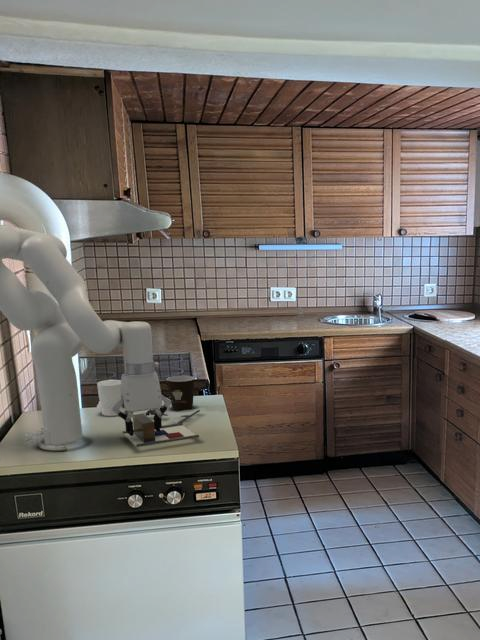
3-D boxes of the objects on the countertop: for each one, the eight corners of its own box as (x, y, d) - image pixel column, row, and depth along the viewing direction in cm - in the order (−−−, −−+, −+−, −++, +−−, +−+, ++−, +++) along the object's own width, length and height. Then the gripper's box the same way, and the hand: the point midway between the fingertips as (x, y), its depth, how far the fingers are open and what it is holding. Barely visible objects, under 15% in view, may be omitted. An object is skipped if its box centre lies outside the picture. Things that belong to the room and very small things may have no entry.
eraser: (144, 443, 187) (142, 423, 185) (134, 433, 195) (132, 414, 193) (155, 441, 188) (154, 422, 187) (144, 432, 197) (143, 413, 195)
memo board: (137, 452, 184) (136, 444, 184) (123, 438, 196) (122, 431, 195) (199, 442, 193) (199, 435, 193) (182, 429, 205) (182, 422, 204)
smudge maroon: (169, 438, 191) (169, 437, 191) (164, 435, 194) (164, 434, 194) (183, 436, 193) (183, 435, 193) (179, 433, 196) (178, 431, 196)
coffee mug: (201, 407, 228) (200, 377, 225) (182, 413, 221) (180, 382, 218) (176, 402, 234) (174, 373, 231) (156, 408, 227) (154, 378, 224)
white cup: (113, 408, 226) (110, 378, 223) (131, 412, 222) (129, 381, 220) (94, 414, 219) (91, 383, 216) (113, 418, 215) (110, 386, 213)
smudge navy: (153, 436, 193) (153, 435, 193) (149, 432, 196) (149, 431, 196) (167, 434, 195) (167, 433, 195) (163, 430, 198) (163, 429, 198)
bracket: (157, 412, 222) (157, 403, 222) (201, 415, 220) (201, 406, 219) (135, 425, 209) (134, 416, 208) (182, 428, 206) (181, 419, 205)
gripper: (167, 362, 194) (171, 424, 199) (102, 369, 185) (108, 433, 190) (175, 367, 188) (179, 431, 193) (109, 374, 179) (115, 441, 184)
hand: (144, 432), depth 191 cm, fingers open, 6 cm apart
